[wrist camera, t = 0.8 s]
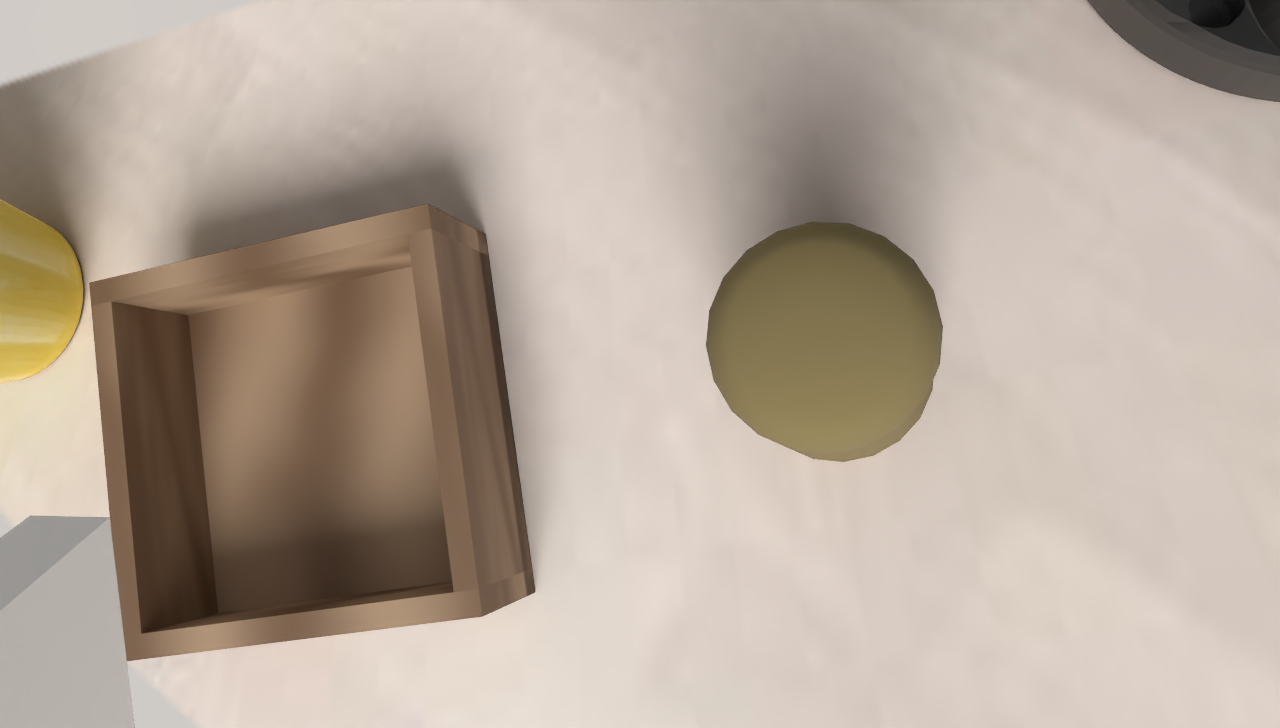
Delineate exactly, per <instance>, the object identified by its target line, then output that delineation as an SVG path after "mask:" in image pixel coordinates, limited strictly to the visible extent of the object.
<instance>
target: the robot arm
mask: <svg viewBox="0 0 1280 728" xmlns="http://www.w3.org/2000/svg"><path fill="white" fill-rule="evenodd" d="M1088 1H1089V3H1090V4H1091V5H1092V6H1093V8H1094V9H1095V10H1096V11H1097V13H1098V14H1099V15H1100V16H1101V17H1102V18H1103V19H1104V20H1105V22H1106V23H1107V24H1108V25H1109V26H1110V27H1111V28H1112V29H1113V30H1114V31H1115V32H1117V33H1118V34H1119V35H1120V36H1121V37H1122V38H1123V39H1124V40H1126V41H1127V42H1128V43H1129V44H1131V45H1132V46H1133V47H1135V48H1136V49H1137V50H1139V51H1140V52H1141V53H1143V54H1144V55H1146V56H1147V57H1149V58H1150V59H1152V60H1153V61H1155V62H1157V63H1158V64H1160V65H1162V66H1164V67H1166V68H1167V69H1169V70H1171V71H1173V72H1175V73H1177V74H1179V75H1181V76H1184V77H1186V78H1188V79H1190V80H1192V81H1195V82H1198V83H1200V84H1203V85H1206V86H1209V87H1211V88H1214V89H1218V90H1221V91H1225V92H1228V93H1232V94H1236V95H1240V96H1245V97H1250V98H1255V99H1261V100H1268V101H1275V102H1280V0H1088ZM0 728H135V726H134V718H133V709H132V701H131V692H130V684H129V676H128V667H127V659H126V650H125V642H124V634H123V625H122V617H121V609H120V600H119V592H118V584H117V575H116V567H115V559H114V550H113V542H112V534H111V525H110V518H106V517H62V516H30V517H28V518H27V519H25V520H24V521H23V522H21V523H20V524H19V525H17V526H16V527H14V528H13V529H12V530H10V531H9V532H8V533H6V534H5V535H4V536H2V537H1V538H0Z"/></svg>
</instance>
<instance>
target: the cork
mask: <svg viewBox="0 0 1280 728" xmlns="http://www.w3.org/2000/svg"><path fill="white" fill-rule="evenodd" d="M942 330H943V326H942V322H941V318H940V314H939V310H938V306H937V302H936V298H935V294H934V290H933V289H932V287H931V286H930V284H929V283H928V281H927V280H926V278H925V277H924V275H923V274H922V272H921V271H920V269H919V268H918V266H917V264H916V263H915V261H914V260H913V259H912V258H911V257H909V256H908V255H907V254H906V253H904V252H903V251H902V250H901V249H899V248H898V247H897V246H896V245H894V244H893V243H892V242H890V241H889V240H888V239H887V238H885V237H884V236H881V235H879V234H876V233H873V232H871V231H868V230H865V229H862V228H860V227H857V226H854V225H852V224H844V223H822V222H811V223H807V224H804V225H800V226H796V227H792V228H789V229H785V230H781V231H777V232H776V233H774V234H773V235H771V236H769V237H768V238H766V239H765V240H763V241H761V242H760V243H758V244H757V245H755V246H753V247H752V248H750V249H749V250H747V251H746V252H745V253H744V254H743V256H742V257H741V258H740V259H739V260H738V261H737V263H736V264H735V265H734V266H733V267H732V268H731V270H730V271H729V272H728V273H727V274H726V275H725V277H724V278H723V280H722V282H721V285H720V287H719V289H718V292H717V294H716V296H715V299H714V301H713V303H712V306H711V308H710V310H709V320H708V331H707V341H706V348H707V352H708V357H709V361H710V366H711V370H712V375H713V379H714V381H715V383H716V385H717V387H718V388H719V390H720V392H721V393H722V395H723V397H724V398H725V400H726V402H727V404H728V405H729V407H730V409H731V410H732V411H733V412H734V413H735V414H736V415H737V416H738V417H739V418H740V419H742V420H743V421H744V422H745V423H746V424H747V425H748V426H749V427H751V428H752V429H753V430H754V431H755V432H756V433H757V434H759V435H761V436H763V437H765V438H767V439H770V440H772V441H774V442H776V443H779V444H781V445H783V446H786V447H788V448H790V449H792V450H795V451H797V452H799V453H802V454H804V455H806V456H808V457H811V458H813V459H821V460H831V461H840V462H845V461H850V460H855V459H859V458H864V457H869V456H873V455H875V454H877V453H879V452H880V451H882V450H884V449H886V448H887V447H889V446H891V445H893V444H894V443H896V442H898V441H900V440H901V439H902V437H903V436H904V435H905V434H906V433H907V432H908V431H909V430H910V429H911V427H912V426H913V425H914V424H915V423H916V422H917V421H918V420H919V419H920V417H921V415H922V412H923V410H924V408H925V405H926V403H927V401H928V399H929V396H930V394H931V392H932V386H933V378H934V376H935V374H936V371H937V369H938V367H939V365H940V355H941V342H942Z"/></svg>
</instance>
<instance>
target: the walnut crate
mask: <svg viewBox="0 0 1280 728" xmlns="http://www.w3.org/2000/svg"><path fill="white" fill-rule="evenodd" d="M89 285H90V296H91V307H92V319H93V330H94V341H95V353H96V364H97V375H98V387H99V398H100V409H101V421H102V432H103V443H104V455H105V466H106V477H107V488H108V500H109V511H110V522H111V534H112V542H113V550H114V559H115V567H116V575H117V584H118V592H119V600H120V609H121V617H122V625H123V634H124V642H125V650H126V659H127V661H132V660H140V659H147V658H155V657H163V656H171V655H179V654H187V653H195V652H203V651H211V650H219V649H227V648H235V647H243V646H251V645H259V644H267V643H275V642H283V641H291V640H299V639H307V638H315V637H323V636H331V635H339V634H347V633H355V632H363V631H371V630H379V629H387V628H394V627H402V626H410V625H418V624H426V623H434V622H442V621H450V620H458V619H466V618H474V617H482V616H484V615H487V614H489V613H491V612H493V611H495V610H497V609H500V608H502V607H504V606H506V605H508V604H511V603H513V602H515V601H517V600H519V599H521V598H524V597H526V596H528V595H530V594H532V593H535V588H534V580H533V573H532V566H531V559H530V551H529V544H528V537H527V530H526V523H525V515H524V508H523V501H522V494H521V487H520V479H519V472H518V465H517V458H516V451H515V443H514V436H513V429H512V422H511V414H510V407H509V400H508V393H507V386H506V378H505V371H504V364H503V357H502V350H501V342H500V335H499V328H498V321H497V313H496V306H495V299H494V292H493V285H492V277H491V270H490V263H489V256H488V249H487V241H486V234H484V233H482V232H480V231H479V230H477V229H475V228H473V227H471V226H469V225H467V224H465V223H463V222H462V221H460V220H458V219H456V218H454V217H452V216H450V215H448V214H446V213H445V212H443V211H441V210H439V209H437V208H435V207H433V206H431V205H429V204H424V205H420V206H416V207H411V208H407V209H403V210H399V211H394V212H390V213H386V214H382V215H377V216H373V217H369V218H364V219H360V220H356V221H352V222H347V223H343V224H339V225H334V226H330V227H326V228H322V229H317V230H313V231H309V232H305V233H300V234H296V235H292V236H287V237H283V238H279V239H275V240H270V241H266V242H262V243H258V244H253V245H249V246H245V247H240V248H236V249H232V250H228V251H223V252H219V253H215V254H210V255H206V256H202V257H198V258H193V259H189V260H185V261H181V262H176V263H172V264H168V265H163V266H159V267H155V268H151V269H146V270H142V271H138V272H134V273H129V274H125V275H121V276H116V277H112V278H108V279H104V280H99V281H95V282H91V283H89Z"/></svg>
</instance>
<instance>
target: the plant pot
mask: <svg viewBox="0 0 1280 728" xmlns="http://www.w3.org/2000/svg"><path fill="white" fill-rule="evenodd" d="M82 304H83V282H82V275H81V270H80V266H79V263H78V260H77V257H76V255H75V253H74V251H73V249H72V248H71V246H70V244H69V243H68V242H67V240H66V239H65V238H64V237H63V236H62V235H61V234H60V233H59V232H58V231H56V230H55V229H53V228H52V227H51V226H49V225H47V224H46V223H44V222H42V221H40V220H38V219H37V218H35V217H33V216H31V215H29V214H27V213H25V212H23V211H21V210H20V209H18V208H16V207H14V206H12V205H10V204H9V203H7V202H5V201H3V200H1V199H0V383H5V382H12V381H18V380H22V379H25V378H28V377H30V376H33V375H35V374H37V373H39V372H40V371H42V370H44V369H45V368H46V367H48V366H49V365H50V364H51V363H52V362H54V361H55V360H56V359H57V357H58V356H59V355H60V354H61V353H62V352H63V350H64V349H65V347H66V346H67V345H68V343H69V342H70V340H71V338H72V336H73V334H74V332H75V330H76V327H77V325H78V323H79V319H80V315H81V309H82Z"/></svg>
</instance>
